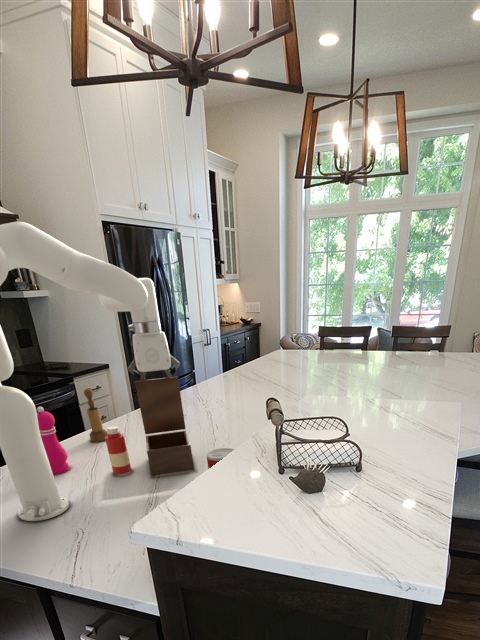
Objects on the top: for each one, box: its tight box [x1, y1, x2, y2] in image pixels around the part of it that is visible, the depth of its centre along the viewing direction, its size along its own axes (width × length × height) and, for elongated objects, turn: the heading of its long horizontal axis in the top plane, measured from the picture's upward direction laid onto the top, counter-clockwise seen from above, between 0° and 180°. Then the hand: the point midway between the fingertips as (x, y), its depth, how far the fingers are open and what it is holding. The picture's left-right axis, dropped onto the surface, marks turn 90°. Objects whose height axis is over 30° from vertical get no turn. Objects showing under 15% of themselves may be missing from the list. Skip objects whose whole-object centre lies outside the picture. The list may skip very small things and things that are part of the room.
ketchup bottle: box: [104, 425, 132, 475], centre depth 141 cm, size 6×6×14 cm
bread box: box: [145, 429, 195, 477], centre depth 145 cm, size 15×13×8 cm
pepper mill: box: [36, 406, 70, 475], centre depth 145 cm, size 7×7×20 cm
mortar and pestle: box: [83, 388, 108, 443], centre depth 170 cm, size 7×6×18 cm
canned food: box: [206, 447, 235, 470], centre depth 125 cm, size 8×8×11 cm
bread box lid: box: [134, 376, 186, 435], centre depth 146 cm, size 16×13×5 cm
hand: (158, 392), depth 145 cm, fingers closed on bread box lid, 6 cm apart
